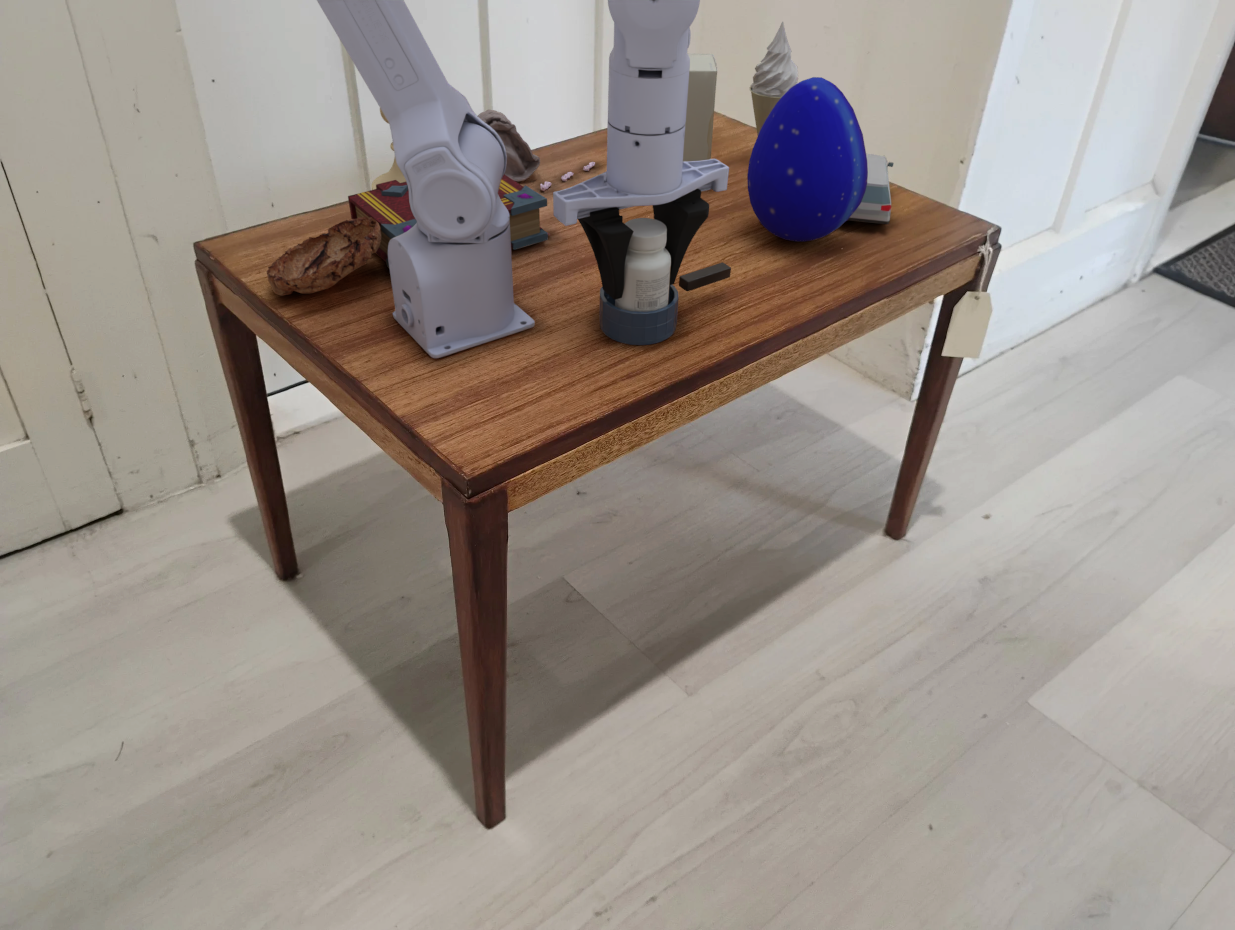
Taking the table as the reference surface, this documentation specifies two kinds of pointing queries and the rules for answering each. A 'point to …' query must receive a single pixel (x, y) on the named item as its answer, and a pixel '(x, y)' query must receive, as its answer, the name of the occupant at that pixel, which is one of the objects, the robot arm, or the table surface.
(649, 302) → the pill bottle
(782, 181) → the ornament
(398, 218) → the decorative book
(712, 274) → the dark grey rectangular bar
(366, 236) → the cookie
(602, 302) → the dark grey open cylinder
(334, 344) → the table surface
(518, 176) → the dental mold
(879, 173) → the toy car
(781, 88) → the ice cream cone
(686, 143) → the cosmetic box
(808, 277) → the table surface
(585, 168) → the pink molecule models
